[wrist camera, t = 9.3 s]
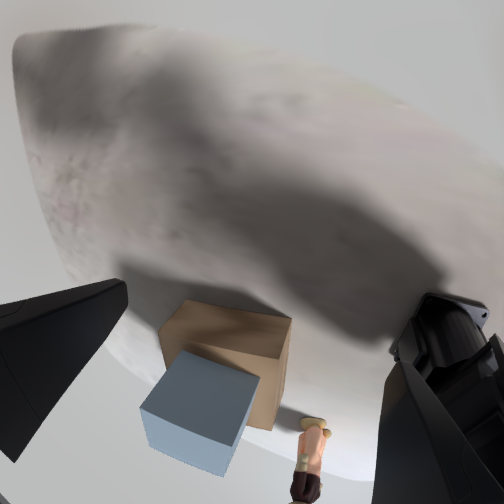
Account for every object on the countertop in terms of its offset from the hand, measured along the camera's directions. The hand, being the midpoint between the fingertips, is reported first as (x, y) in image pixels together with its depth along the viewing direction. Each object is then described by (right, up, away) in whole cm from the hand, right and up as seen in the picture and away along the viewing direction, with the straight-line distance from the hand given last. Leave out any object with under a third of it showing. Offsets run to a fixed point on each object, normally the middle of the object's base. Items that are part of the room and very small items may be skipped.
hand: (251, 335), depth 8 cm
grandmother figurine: (+7, -17, +19) cm, 26 cm away
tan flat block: (-1, -6, +17) cm, 18 cm away
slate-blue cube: (-3, -8, +13) cm, 15 cm away
